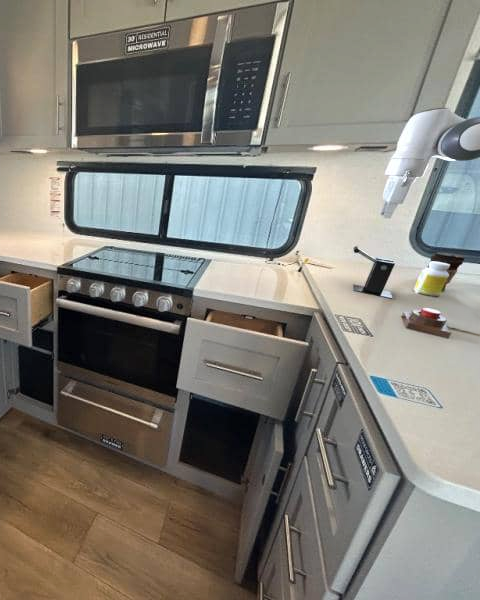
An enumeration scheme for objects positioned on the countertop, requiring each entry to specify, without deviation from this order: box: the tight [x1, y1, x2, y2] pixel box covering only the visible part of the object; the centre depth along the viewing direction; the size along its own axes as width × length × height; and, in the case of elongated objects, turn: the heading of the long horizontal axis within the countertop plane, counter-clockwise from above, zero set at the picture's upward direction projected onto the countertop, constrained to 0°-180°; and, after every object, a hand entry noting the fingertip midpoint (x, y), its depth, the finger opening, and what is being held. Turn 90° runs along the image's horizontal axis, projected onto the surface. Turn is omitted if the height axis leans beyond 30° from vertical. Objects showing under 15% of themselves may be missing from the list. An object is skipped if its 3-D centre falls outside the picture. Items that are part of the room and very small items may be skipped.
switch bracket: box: [352, 257, 396, 300], centre depth 109 cm, size 10×8×12 cm
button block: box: [400, 309, 452, 339], centre depth 88 cm, size 10×8×4 cm
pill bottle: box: [412, 261, 450, 298], centre depth 110 cm, size 6×6×12 cm
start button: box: [420, 307, 442, 319], centre depth 87 cm, size 4×4×2 cm
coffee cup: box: [427, 252, 465, 292], centre depth 118 cm, size 9×8×13 cm
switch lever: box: [352, 245, 383, 264], centre depth 108 cm, size 11×5×2 cm, turn 53°
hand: (384, 216), depth 105 cm, fingers open, 8 cm apart
